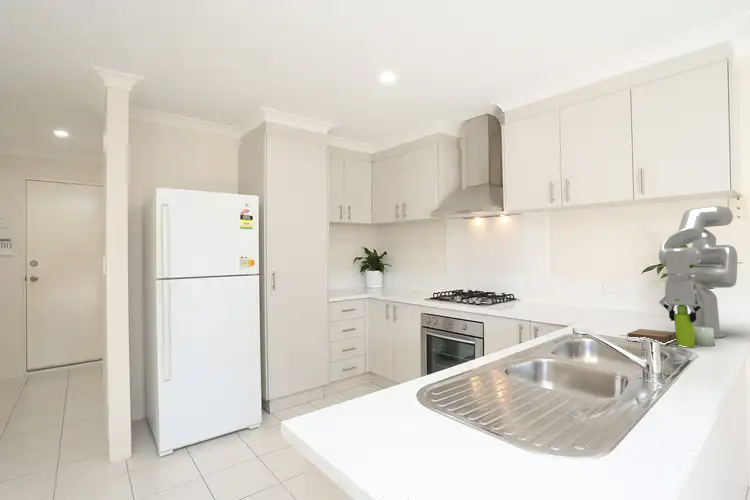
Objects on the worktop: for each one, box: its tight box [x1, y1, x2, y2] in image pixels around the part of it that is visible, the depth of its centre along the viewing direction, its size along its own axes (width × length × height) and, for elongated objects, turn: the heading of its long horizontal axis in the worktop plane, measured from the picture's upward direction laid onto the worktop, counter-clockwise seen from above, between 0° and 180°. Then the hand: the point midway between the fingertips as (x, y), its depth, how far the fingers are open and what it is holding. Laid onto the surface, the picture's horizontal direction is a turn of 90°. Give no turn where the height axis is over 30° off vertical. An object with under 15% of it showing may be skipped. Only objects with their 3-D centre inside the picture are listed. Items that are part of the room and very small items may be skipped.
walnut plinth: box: [627, 328, 676, 343], centre depth 169 cm, size 14×14×4 cm
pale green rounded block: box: [693, 326, 716, 347], centre depth 158 cm, size 7×7×7 cm
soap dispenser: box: [674, 299, 696, 348], centre depth 157 cm, size 6×7×20 cm
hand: (682, 320), depth 157 cm, fingers closed on soap dispenser, 5 cm apart
